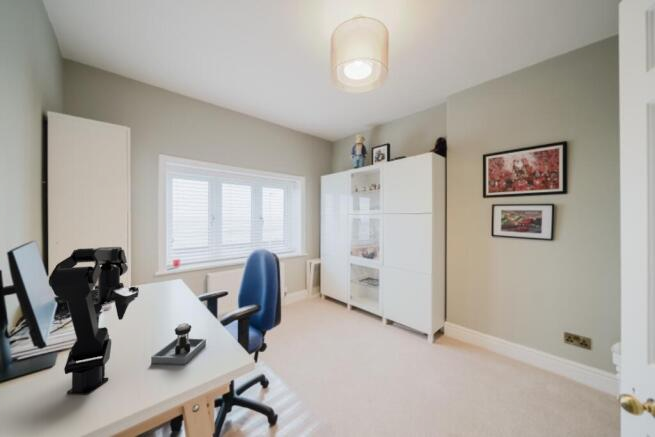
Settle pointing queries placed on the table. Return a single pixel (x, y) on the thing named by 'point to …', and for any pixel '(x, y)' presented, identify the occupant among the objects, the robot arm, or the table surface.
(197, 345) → the tray
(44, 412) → the table surface
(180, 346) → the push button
